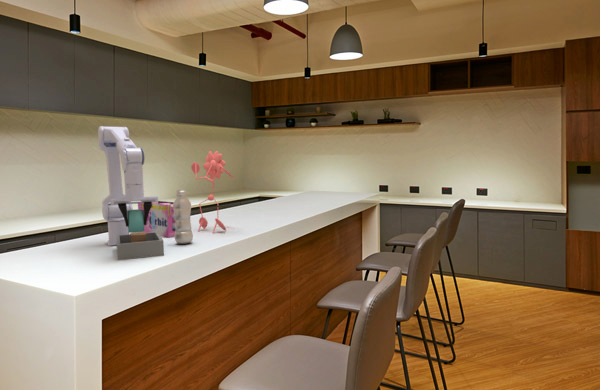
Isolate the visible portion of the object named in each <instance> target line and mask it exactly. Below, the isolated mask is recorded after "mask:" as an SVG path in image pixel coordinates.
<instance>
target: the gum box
mask: <svg viewBox="0 0 600 390" xmlns="http://www.w3.org/2000/svg"><path fill="white" fill-rule="evenodd" d="M141 202H144V201H141ZM173 203H174V201H165V200H164V201H163V200H158V203H152V207H151V209H150V211H149V214H148V218H147V225H144V229H145V231H143V232H145V233H149V232H158V233H159V235H160V236H161V237H162V238H163V237H164V238H172V237H174V238H175V227H176V221H175V220H176V219H175V213H174V208H173ZM143 204H144V203H138V204H137V209H142V210H144V207H143Z"/></svg>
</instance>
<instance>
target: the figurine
mask: <svg viewBox="0 0 600 390" xmlns="http://www.w3.org/2000/svg"><path fill="white" fill-rule="evenodd" d="M202 166H203V169H204V170H206V172H205V173H206V175H205V176H201V177H198V173H199V172H200V169H201V168H200V164H199V163H198V162H196V161H194V162H193V163H192V164H191V168H190V169H191V170H192V172H193V174H194V175H195V180H200V179H202V180H203V179H205V180H208V181H209V182H211V183H212V188H211V189H212V190H211V192H210V193H211V194H208V195H207V198H206V199H205V200H203V201H201V202H199V203H198V205H199V209H200V214H201V216H200V218H199V220H198V224H199V227H198V230H197V232H200V231H201V230H200V229H201V227H202V229H204V230H205V229H206V228H208V225H209V223H208V219H206V217H204V215H203V212H202V211H203V210H202V207H201V204H202V203H203V204H204V203H205V202H206V201H214V202H215V203H216V204H217V205H219V203H218V202H217V200H216V199H215V195H214V194H213V192H214V188H215V182H214V181H215V180H216V178H217V179H219V180H220V178H221V175H222V174H223V173H226V174H227V175H228V176H229V177H230V178H232V179H233V180H234V179H235V178H234V176H233V175H232V174H231V173H230V172H229V171H228V170H227V169H226V168H224V167H225V166H226V161H225V160H223V153H219V151H218V150H216V151H215V152H214V153H212V151H210V150H209V151H208V153H207V156H206V157H205V162H204V164H202ZM208 176H209V177H208ZM216 212H217V218H215V219H214V221H215V224H214V226H213V231H212V234H214V233H215V231H216V228H217V225H218V227H219V228H221V229H222V230H224V231H225V232H226V231H227V228H229V229H231V227H230V226H227V227H226V226H225V225H224V223H223V222H222V221H221V220H220V219H219V208H217V211H216ZM232 229H233V230H234V229H235V228H234V227H232ZM225 232H223V233H222V235H223V234H226V233H225Z"/></svg>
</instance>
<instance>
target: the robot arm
mask: <svg viewBox="0 0 600 390" xmlns="http://www.w3.org/2000/svg"><path fill="white" fill-rule="evenodd" d="M97 140H98V141H97V142H98V147H99V150H101V151H103V152H104V154H105V159H106V170H107V180H108V190H109V192H108V193H109V195H107V196H106V197H105V198H103V200H102V206H101V211H102V218H103V219H104V220H105V221H107V228H108V229H107V231H108V233H107V234H108V240H107V246H111V247H112V246H117V240H116V235H126V234H130V232H128V215H127V211H128V210H134V209H133V205H134V204H135V205H136V204H137V205H138V203H144V204H143V207H144V225H147V218H148V214H149V211H150V209H151V207H152V203H158V201H159V197H158V196H145V193H144V192H145V190H144V175H143V173H144V172H143V171H144V170H143V169H144V168H143V166H144V164H145V158H146V157H145V156H146V155H145V151H144V149H143V147H138V146H136V144H135V142H134V141H133V140H132V139H130V131H129V128H128V127H126V126H102V125H100V126H98V129H97ZM121 166H122V167H121ZM121 169H122V170H121ZM122 171H123V177H124V181H122ZM123 183H124V190H123ZM142 201H144V202H142ZM132 204H133V205H132Z"/></svg>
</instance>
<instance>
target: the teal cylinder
mask: <svg viewBox="0 0 600 390" xmlns="http://www.w3.org/2000/svg"><path fill="white" fill-rule="evenodd" d="M127 215H128V232H129V234H130V233H138V232H143V231H145V229H144V210H142V209H138V208H137V209H133V210H128V211H127Z"/></svg>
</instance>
